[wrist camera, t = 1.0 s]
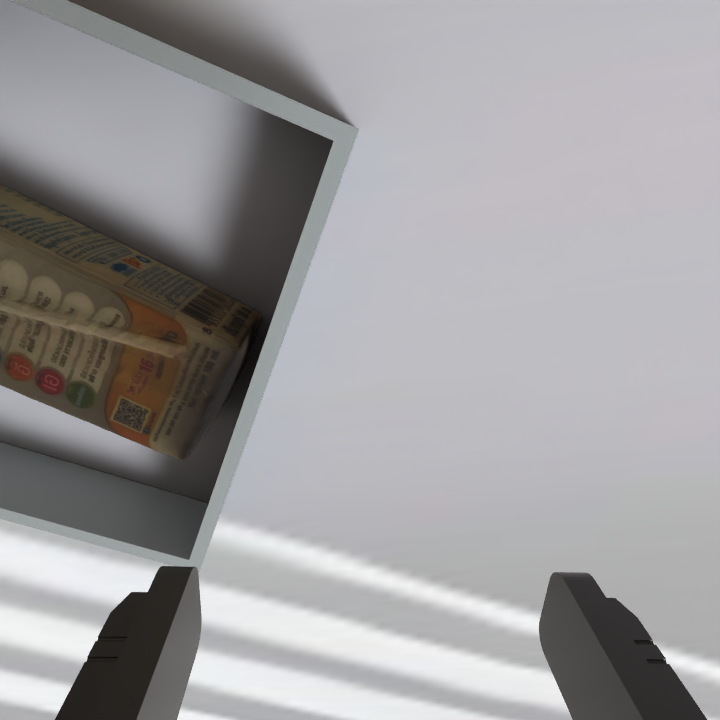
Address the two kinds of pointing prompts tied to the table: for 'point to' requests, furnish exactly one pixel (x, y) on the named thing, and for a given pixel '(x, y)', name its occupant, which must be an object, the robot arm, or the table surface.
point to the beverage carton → (113, 331)
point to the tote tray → (196, 518)
